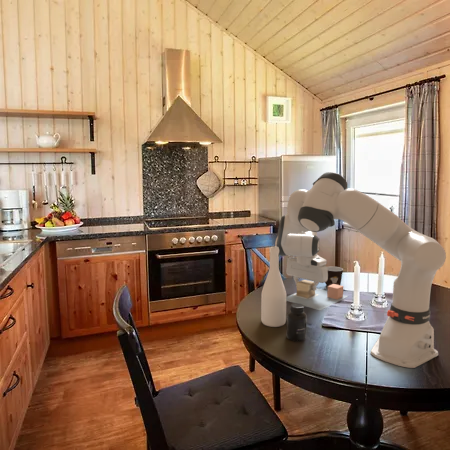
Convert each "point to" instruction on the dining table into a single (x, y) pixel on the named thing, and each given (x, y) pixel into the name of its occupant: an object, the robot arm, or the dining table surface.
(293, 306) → the supplement bottle
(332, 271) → the coffee mug
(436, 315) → the dining table surface
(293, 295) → the white rectangular board
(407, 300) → the robot arm
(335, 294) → the terracotta cube
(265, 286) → the wine bottle
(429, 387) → the dining table surface
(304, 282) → the maple block
